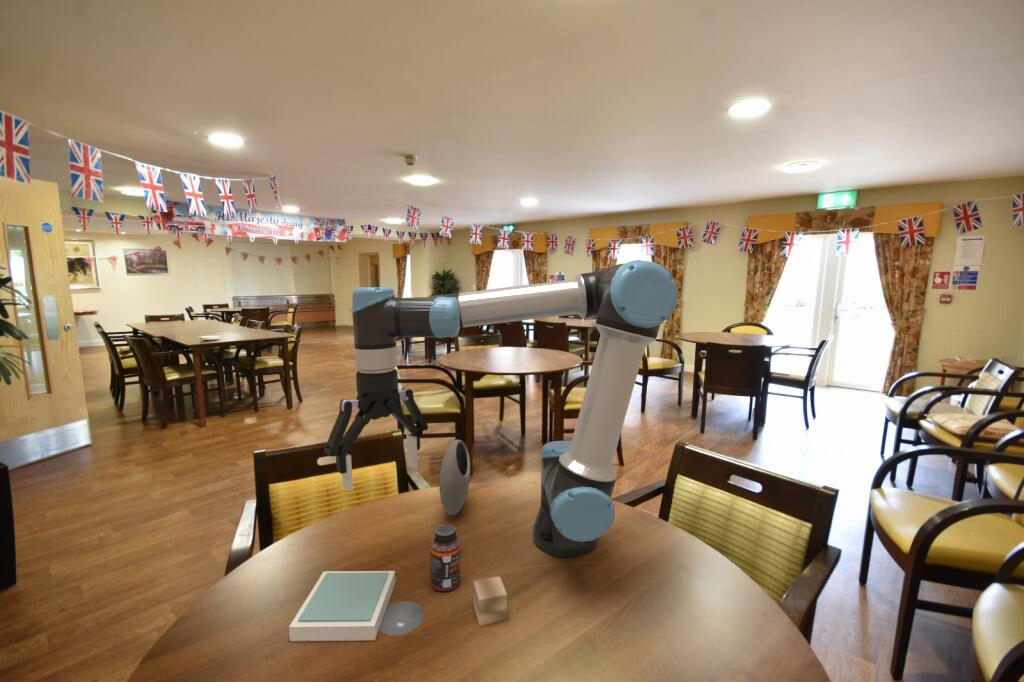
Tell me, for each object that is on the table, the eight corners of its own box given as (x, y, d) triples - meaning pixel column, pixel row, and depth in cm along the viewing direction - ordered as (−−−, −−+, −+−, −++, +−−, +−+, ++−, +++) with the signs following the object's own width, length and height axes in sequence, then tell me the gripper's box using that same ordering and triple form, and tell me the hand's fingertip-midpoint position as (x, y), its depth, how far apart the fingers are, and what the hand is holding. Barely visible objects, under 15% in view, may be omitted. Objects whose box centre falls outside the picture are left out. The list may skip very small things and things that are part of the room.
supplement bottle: (455, 595, 83) (454, 540, 81) (425, 590, 84) (424, 536, 82) (464, 575, 88) (464, 523, 87) (437, 571, 90) (436, 519, 88)
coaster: (427, 604, 81) (426, 600, 81) (418, 639, 73) (418, 634, 73) (384, 605, 81) (384, 601, 81) (371, 639, 73) (371, 635, 73)
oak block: (499, 600, 81) (499, 576, 81) (506, 620, 77) (507, 594, 76) (473, 605, 80) (473, 581, 79) (479, 626, 75) (479, 600, 75)
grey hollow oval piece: (462, 530, 104) (461, 456, 102) (433, 529, 105) (432, 455, 103) (474, 494, 123) (474, 430, 120) (450, 493, 123) (449, 429, 121)
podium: (395, 583, 86) (395, 569, 85) (374, 640, 72) (374, 623, 72) (324, 583, 85) (323, 569, 85) (289, 641, 72) (288, 624, 71)
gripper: (422, 358, 93) (426, 453, 95) (299, 376, 75) (308, 491, 78) (443, 363, 87) (446, 463, 90) (316, 383, 70) (324, 506, 73)
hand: (382, 476), depth 84 cm, fingers open, 13 cm apart
